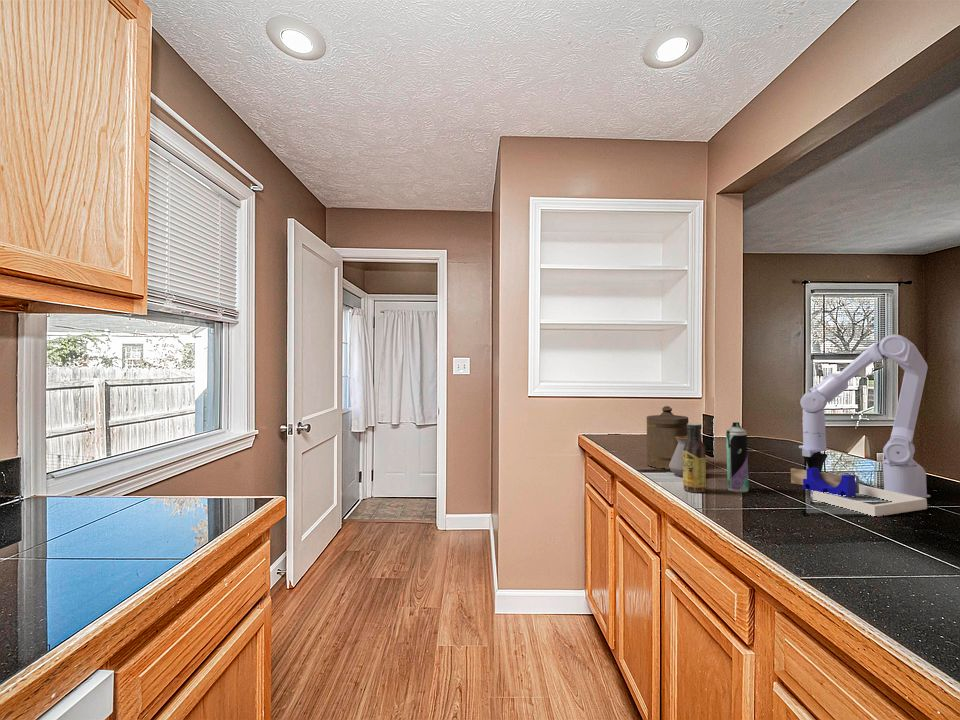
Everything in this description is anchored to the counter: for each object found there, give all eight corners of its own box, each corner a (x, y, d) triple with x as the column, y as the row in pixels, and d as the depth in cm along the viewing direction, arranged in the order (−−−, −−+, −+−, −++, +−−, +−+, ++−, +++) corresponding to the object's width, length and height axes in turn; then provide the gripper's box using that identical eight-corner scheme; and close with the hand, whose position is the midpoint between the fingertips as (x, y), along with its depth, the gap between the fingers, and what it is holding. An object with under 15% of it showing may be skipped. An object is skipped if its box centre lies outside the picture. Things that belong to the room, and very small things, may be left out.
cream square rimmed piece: (856, 492, 143) (855, 475, 143) (927, 508, 126) (926, 489, 126) (807, 499, 137) (807, 481, 138) (875, 516, 121) (874, 496, 121)
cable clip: (803, 489, 149) (802, 468, 149) (814, 487, 150) (814, 467, 150) (843, 499, 137) (843, 476, 137) (855, 497, 139) (855, 475, 139)
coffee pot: (666, 471, 177) (665, 428, 178) (701, 471, 175) (700, 428, 175) (677, 485, 156) (675, 437, 157) (717, 486, 154) (715, 437, 154)
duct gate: (854, 492, 143) (853, 476, 143) (853, 492, 142) (852, 477, 143) (792, 482, 156) (792, 468, 156) (791, 483, 155) (790, 468, 155)
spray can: (740, 493, 145) (738, 423, 146) (723, 489, 150) (721, 422, 151) (752, 490, 148) (750, 422, 148) (735, 486, 153) (733, 420, 153)
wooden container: (690, 463, 191) (688, 405, 191) (689, 471, 177) (687, 408, 177) (649, 461, 197) (647, 404, 197) (645, 468, 183) (643, 407, 183)
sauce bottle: (679, 488, 152) (677, 422, 153) (699, 487, 153) (697, 422, 153) (690, 494, 146) (688, 425, 146) (711, 493, 146) (708, 424, 147)
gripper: (807, 428, 160) (808, 472, 159) (790, 433, 150) (791, 479, 150) (833, 430, 154) (835, 475, 154) (817, 435, 145) (819, 483, 145)
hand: (815, 477), depth 152 cm, fingers closed
